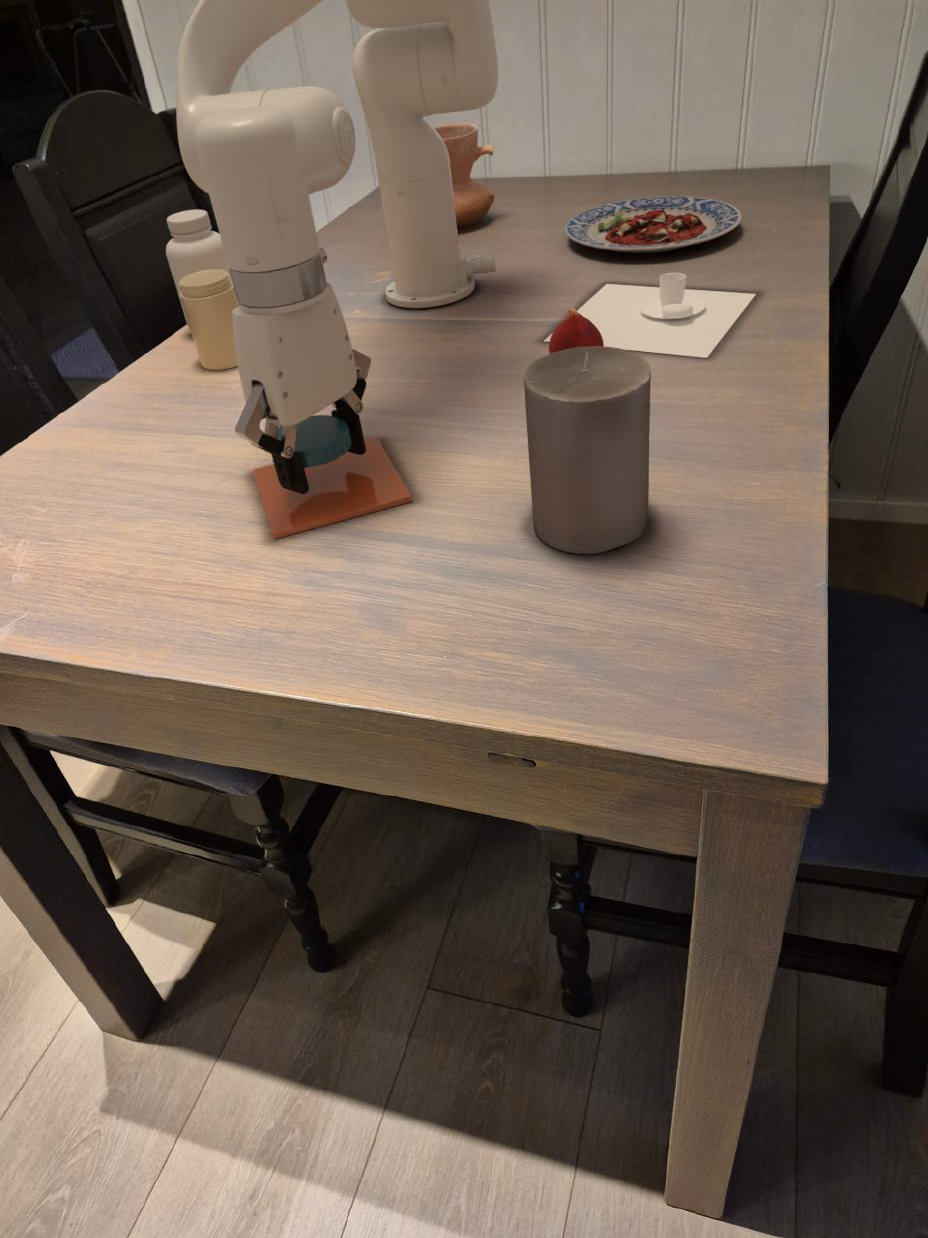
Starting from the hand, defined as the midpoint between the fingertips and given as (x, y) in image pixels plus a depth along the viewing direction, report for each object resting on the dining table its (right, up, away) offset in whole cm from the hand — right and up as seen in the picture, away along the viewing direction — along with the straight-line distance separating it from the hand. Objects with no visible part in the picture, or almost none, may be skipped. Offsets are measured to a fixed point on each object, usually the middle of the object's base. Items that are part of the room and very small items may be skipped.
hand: (324, 468), depth 84 cm
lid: (-1, +3, -1) cm, 3 cm away
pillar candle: (+24, -6, -8) cm, 26 cm away
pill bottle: (-21, +26, +40) cm, 52 cm away
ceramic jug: (+10, +53, +67) cm, 86 cm away
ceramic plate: (+42, +43, +50) cm, 78 cm away
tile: (0, -2, +1) cm, 2 cm away
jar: (-17, +19, +30) cm, 40 cm away
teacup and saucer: (+36, +23, +25) cm, 50 cm away
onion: (+26, +12, +14) cm, 31 cm away
